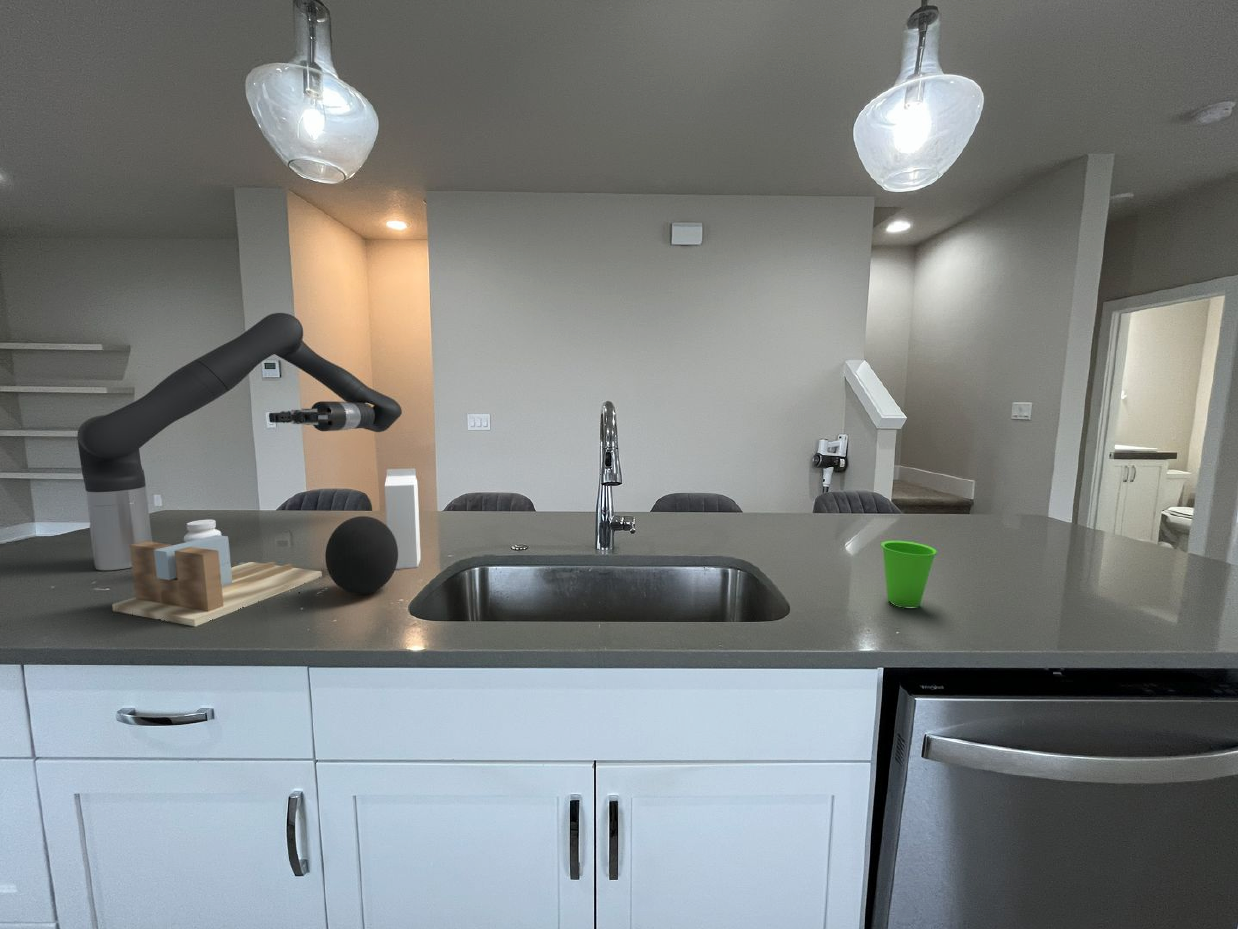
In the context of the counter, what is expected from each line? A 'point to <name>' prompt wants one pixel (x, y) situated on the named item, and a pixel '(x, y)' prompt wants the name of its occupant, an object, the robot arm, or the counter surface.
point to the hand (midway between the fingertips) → (271, 417)
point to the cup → (906, 571)
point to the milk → (403, 515)
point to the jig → (202, 585)
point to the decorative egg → (361, 555)
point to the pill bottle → (201, 530)
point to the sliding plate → (167, 555)
